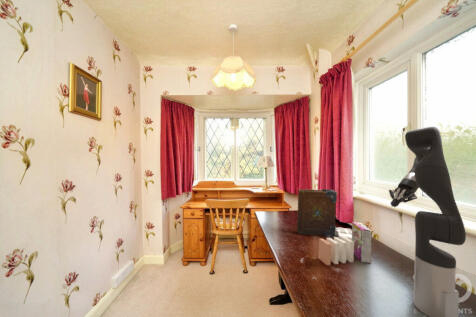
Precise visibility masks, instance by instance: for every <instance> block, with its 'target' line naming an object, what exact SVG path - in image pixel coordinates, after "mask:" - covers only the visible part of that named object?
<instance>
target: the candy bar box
mask: <svg viewBox="0 0 476 317" xmlns="http://www.w3.org/2000/svg"><path fill="white" fill-rule="evenodd" d="M351 225H352V226H351V230H352V241H354V256H355V257H356V258H357V259H358V260H359V261H360V263H365V264H372V251H373V250H372V246H373V241H372V240H373V230H371V229H370V228H369V227H368V226H367V225H365V224H364V223H362V222H358V221H352V223H351Z"/></svg>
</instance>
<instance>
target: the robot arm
mask: <svg viewBox="0 0 476 317" xmlns="http://www.w3.org/2000/svg"><path fill="white" fill-rule="evenodd" d="M404 138H405V139H404V140H405V144H406V146H407V148H408V149H409V150H410V151H411V152H412V153H413V154H414V155H415V157H414V161H413V164H412V167H411V169H410V170H409V172H407V173H406V174H405V175H404V177H403V178H402V179H401V180H400V182H399V183H398V184H397V186H396V188H394V189H388V193H389V195H390V198H391V199H392V200H391V202H390V205H391V207H393V208H396V207H398V206H399V205H401V204H400V203H408V202H410V201H413V200H416V199H418V197H417V195H416V194H415V193H416V192H417V191H418V189H420V190H421V191H422V192H423V193H424V194H425V195H426V196H428V198H430V199H431V200H432V201H433V202H434V203H435V204H436V205H437V207H438V208H439V210H440V212H441V213H440V212H439V213H437V212H433V211H425V210H419V211H417V212H416V214H415V217H414V230H415V247H414V248H415V250H414V251H415V252H414V276H413V277H414V278H413V305H414V306H415V308H416V309H417V310H419V311H420V312H421V313H422V314H424V315H426V316H428V317H459V301H460V300H459V298H460V292H459V290H457V289H456V277H457V276H456V274H457V273H456V272H457V260H456V257H454V255H452V254H451V253H449V252H447V251H445V250H443V249H441V248H439V247H437V246H435V245H434V244H432V243H431V242H430V241H435V242H439V243H443V244H444V243H445V244H448V245H453V246H454V245H455V246H462V245H464V244H465V242H466V239H467V234H466V233H467V232H466V228H465V224H464V221H463V219H462V216H461V213H460V211H459V208H458V205H457V202H456V200H455V196H454V192H453V186H452V181H451V176H450V172H449V169H448V166H447V162H446V159H445V154H444V148H443V141H442V135H441V132H440V130H439V128H437V126H426V127H422V128H421V127H420V128H416V129H415V128H414V129H411V130H407V131H406V133H405V134H404Z"/></svg>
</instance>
